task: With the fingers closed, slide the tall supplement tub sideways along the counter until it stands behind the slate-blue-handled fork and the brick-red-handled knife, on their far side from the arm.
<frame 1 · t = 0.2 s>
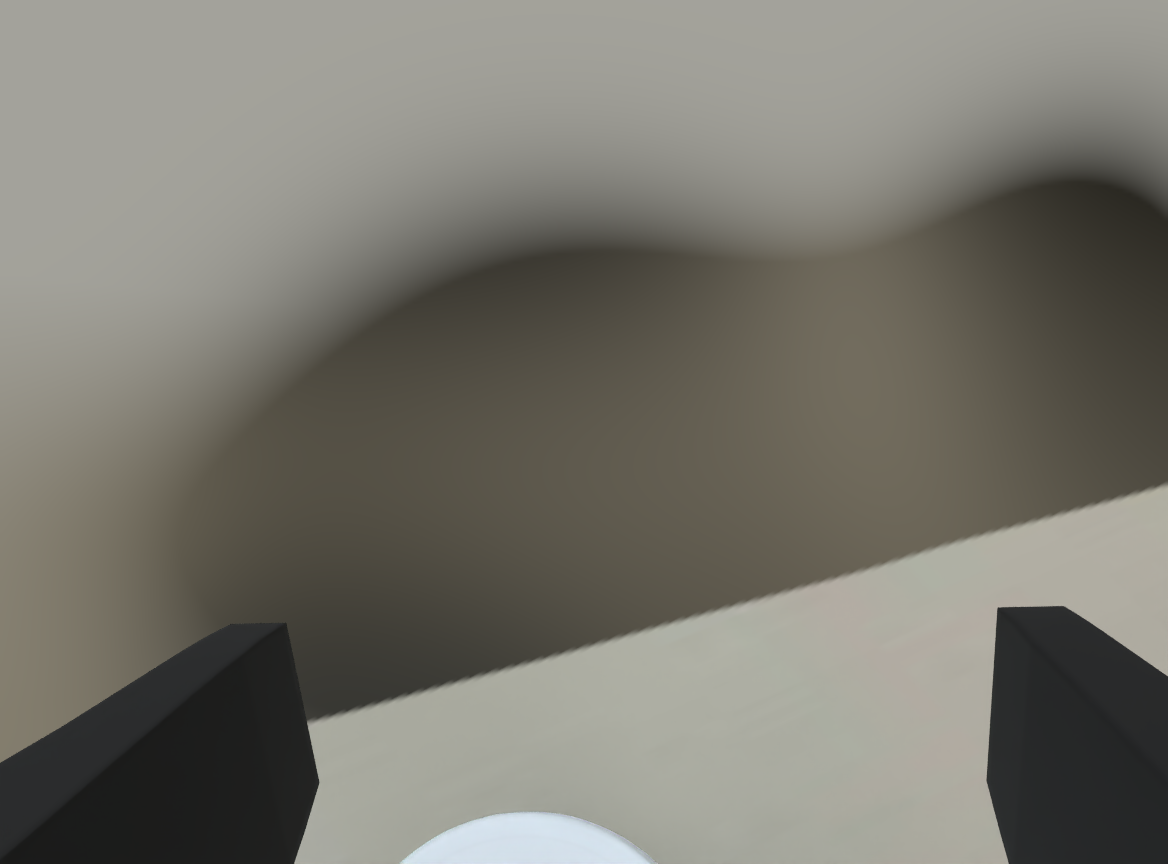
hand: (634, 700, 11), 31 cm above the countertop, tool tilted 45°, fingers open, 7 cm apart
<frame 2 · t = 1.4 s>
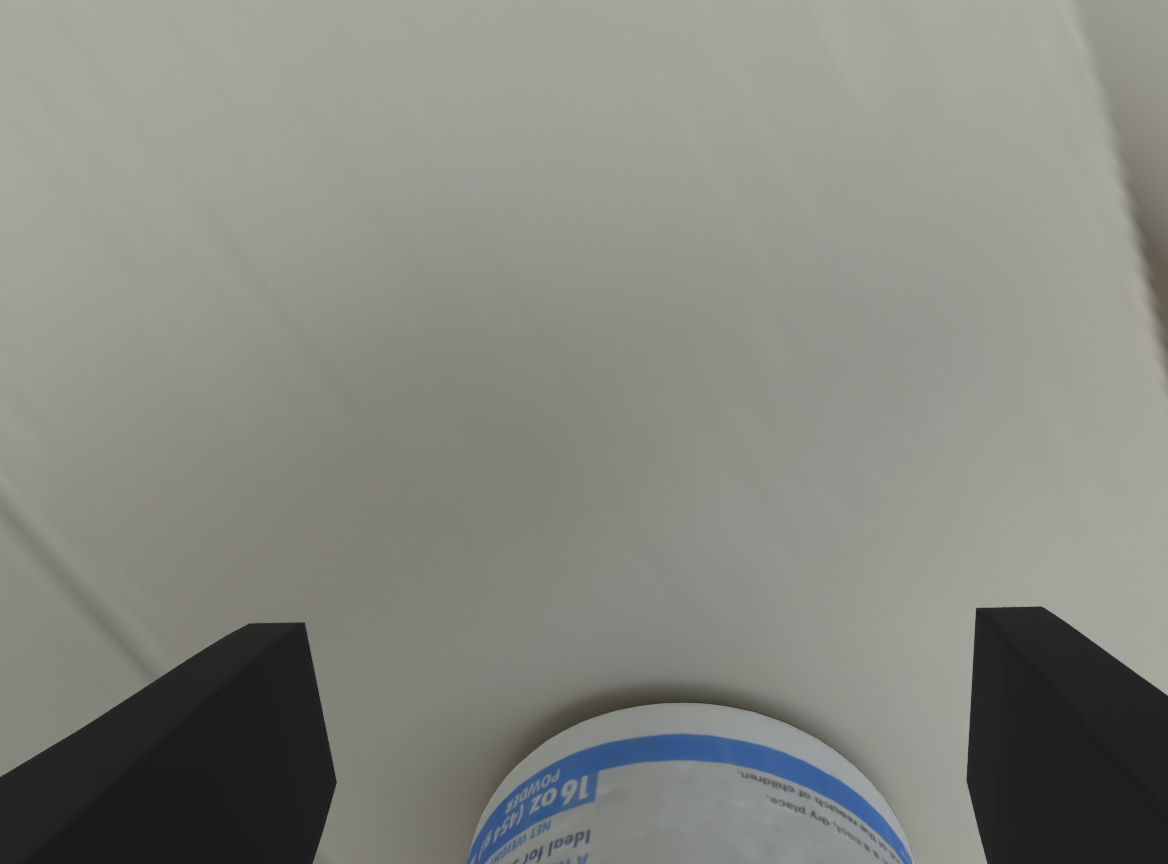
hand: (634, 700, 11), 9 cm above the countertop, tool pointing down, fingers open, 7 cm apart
supplement tub: (689, 860, 24), on the countertop
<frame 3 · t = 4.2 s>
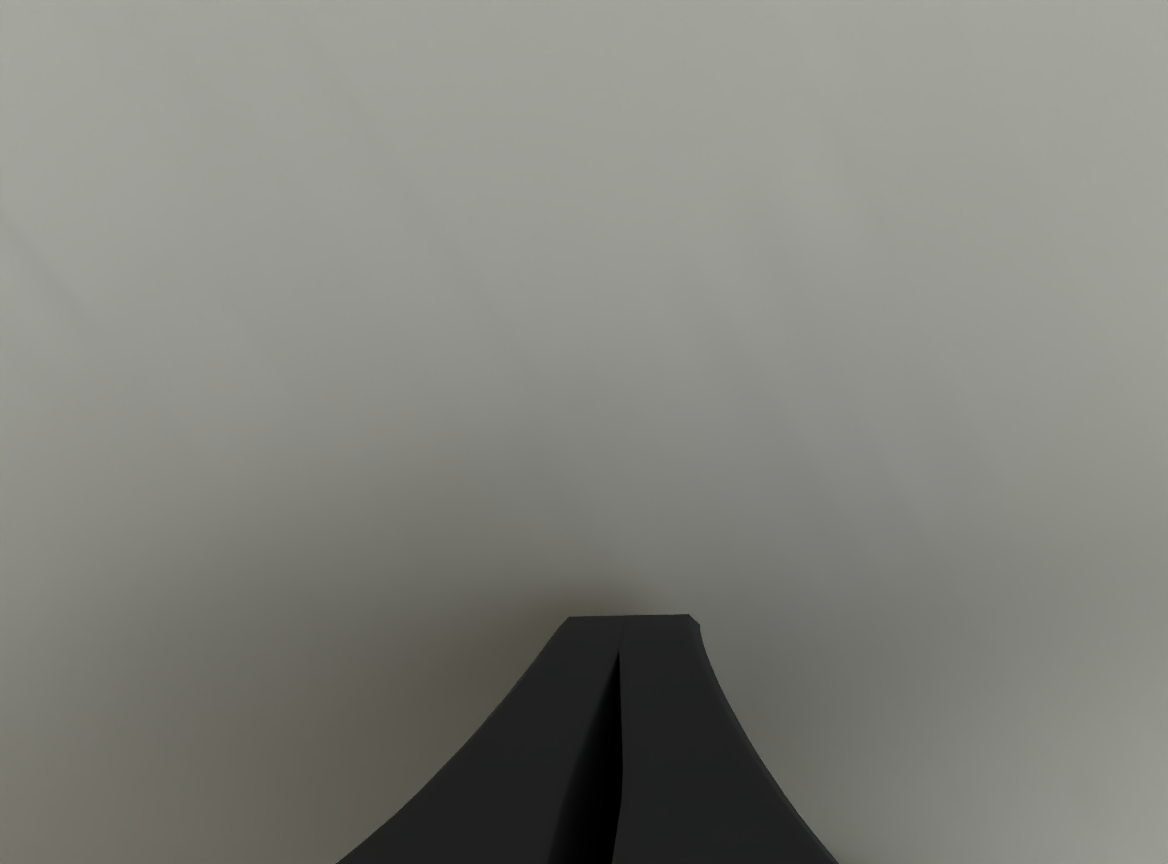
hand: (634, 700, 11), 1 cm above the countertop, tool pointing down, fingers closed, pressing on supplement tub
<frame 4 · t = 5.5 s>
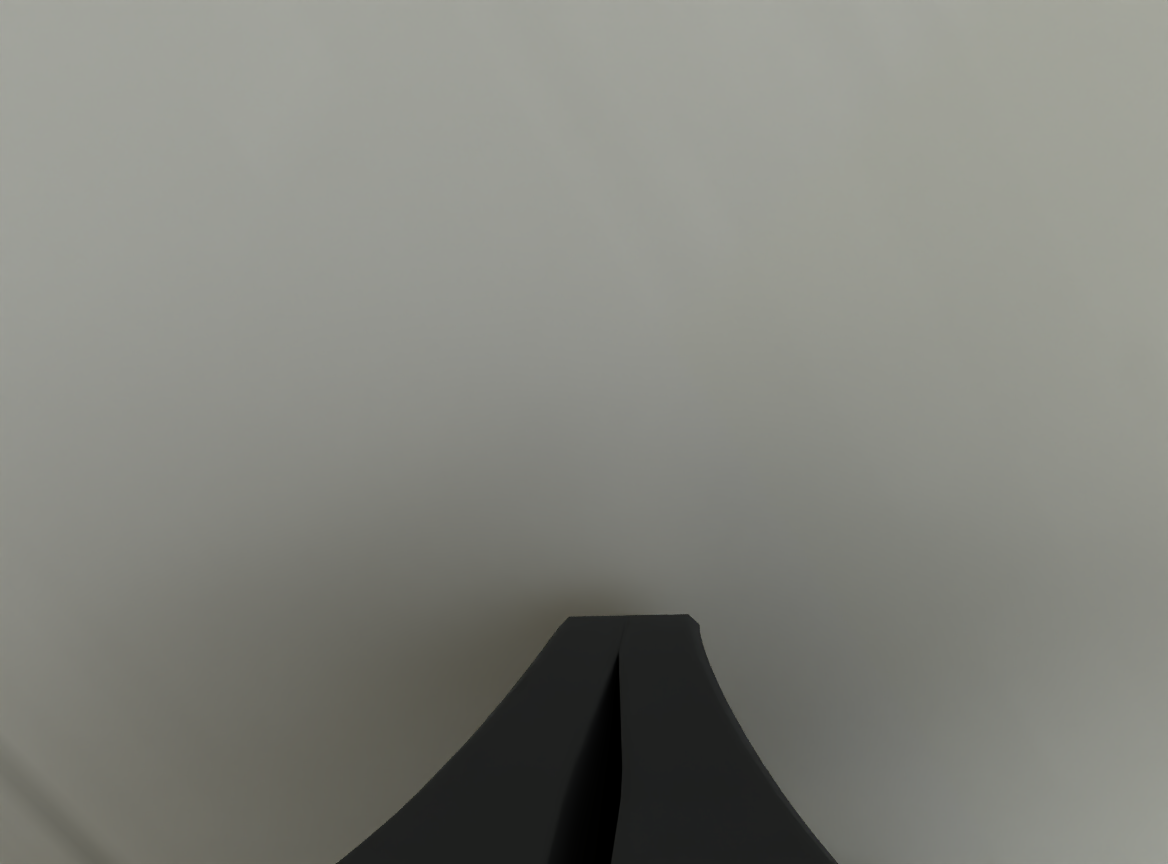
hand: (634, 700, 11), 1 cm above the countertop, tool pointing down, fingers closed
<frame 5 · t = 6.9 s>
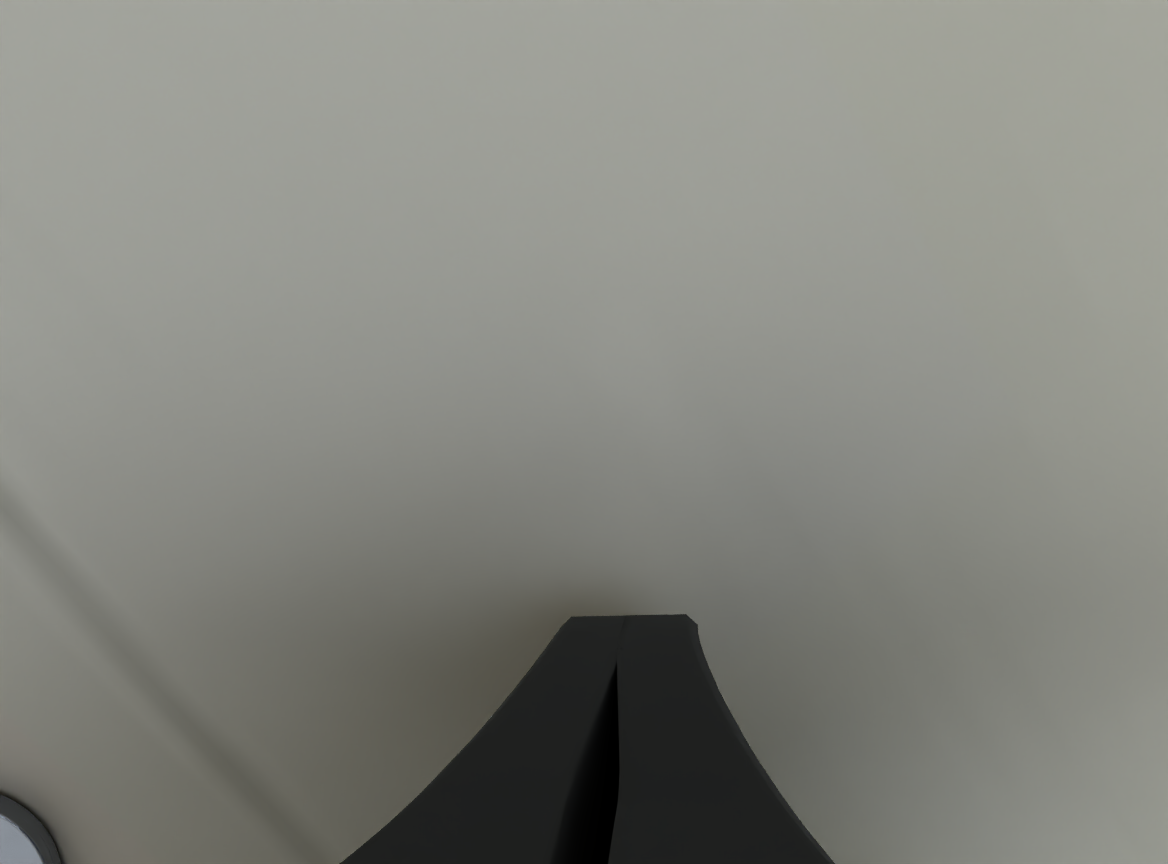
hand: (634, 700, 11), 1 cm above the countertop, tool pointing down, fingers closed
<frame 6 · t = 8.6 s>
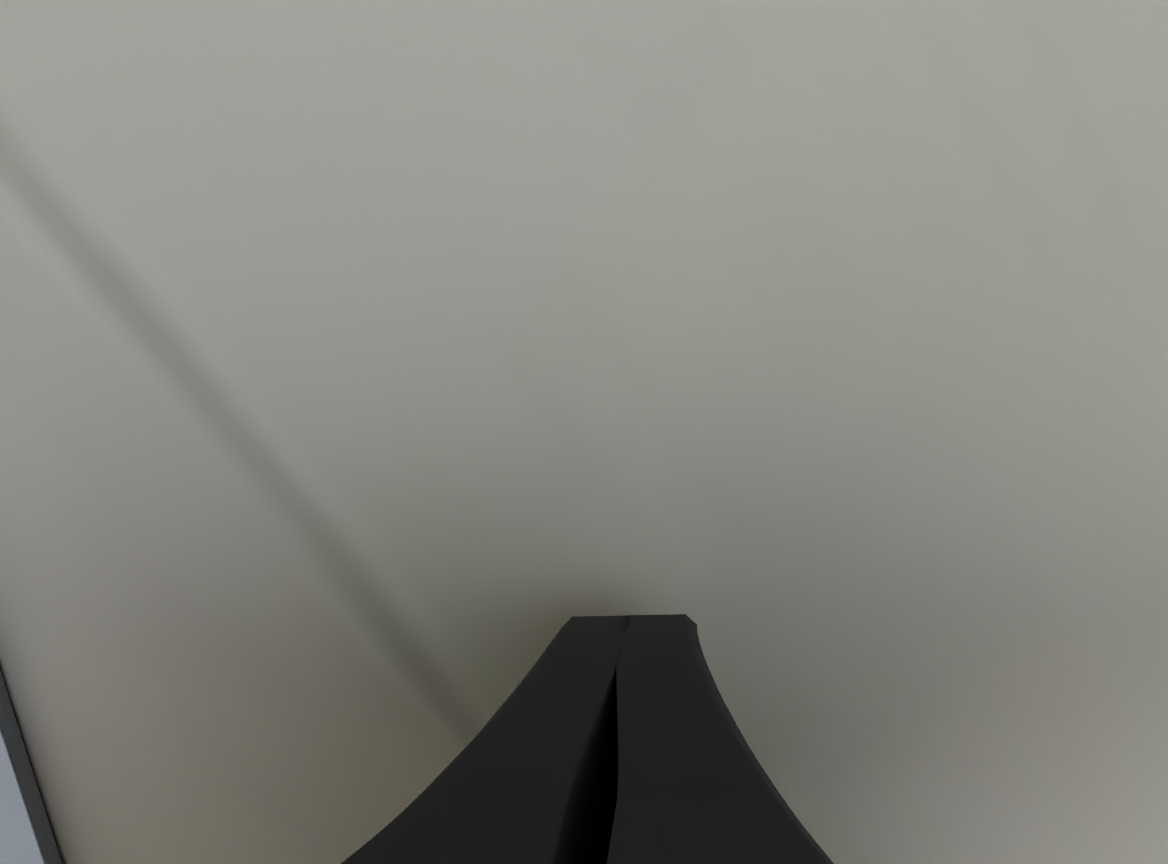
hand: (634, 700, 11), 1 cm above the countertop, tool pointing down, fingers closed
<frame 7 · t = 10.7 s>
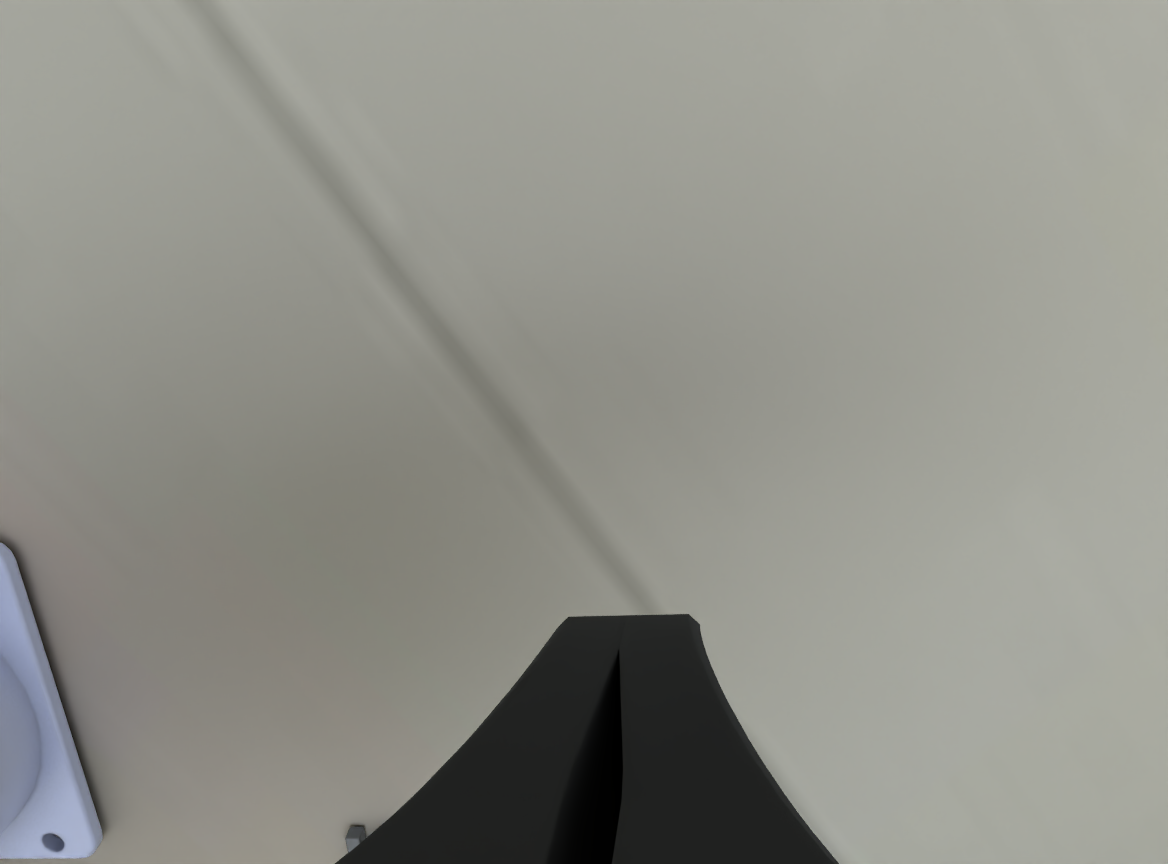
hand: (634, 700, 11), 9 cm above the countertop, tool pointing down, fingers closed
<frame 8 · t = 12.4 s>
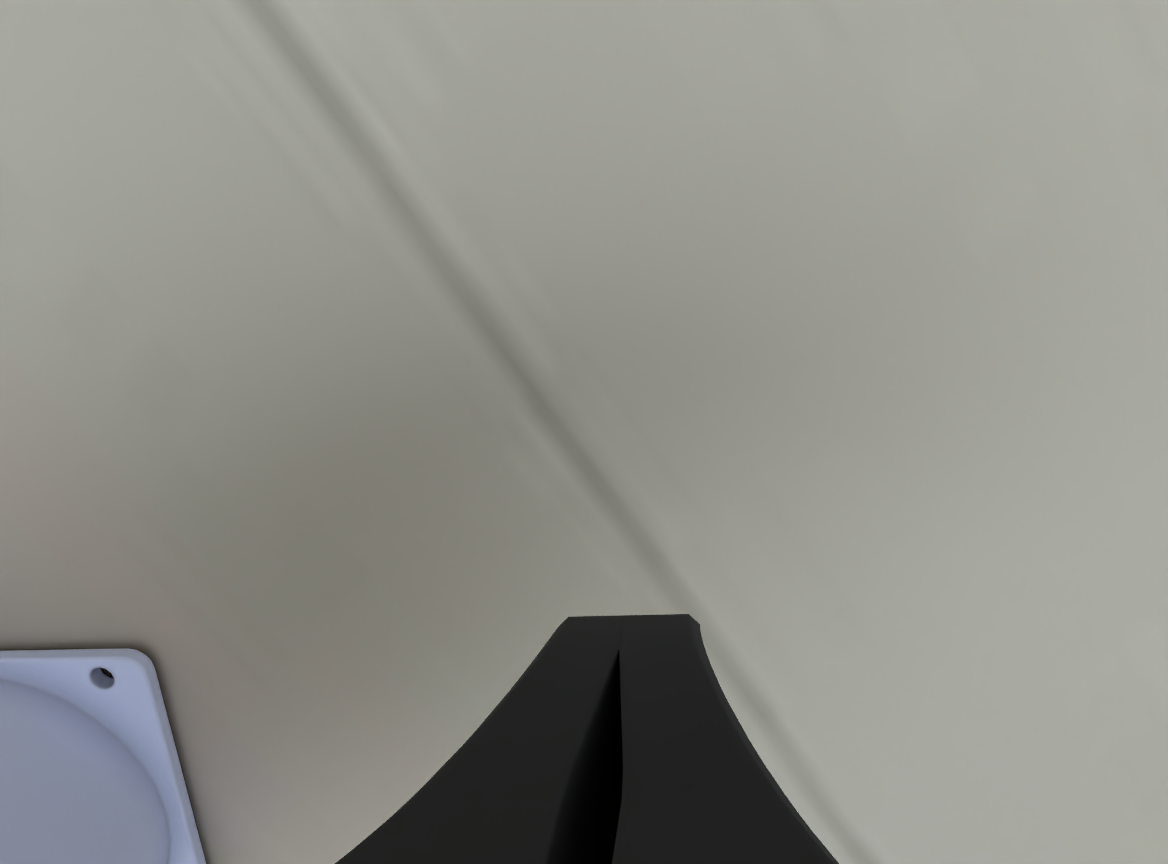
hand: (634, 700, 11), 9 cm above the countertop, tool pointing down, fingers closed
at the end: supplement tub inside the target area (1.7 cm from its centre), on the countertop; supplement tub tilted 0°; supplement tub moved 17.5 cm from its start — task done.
